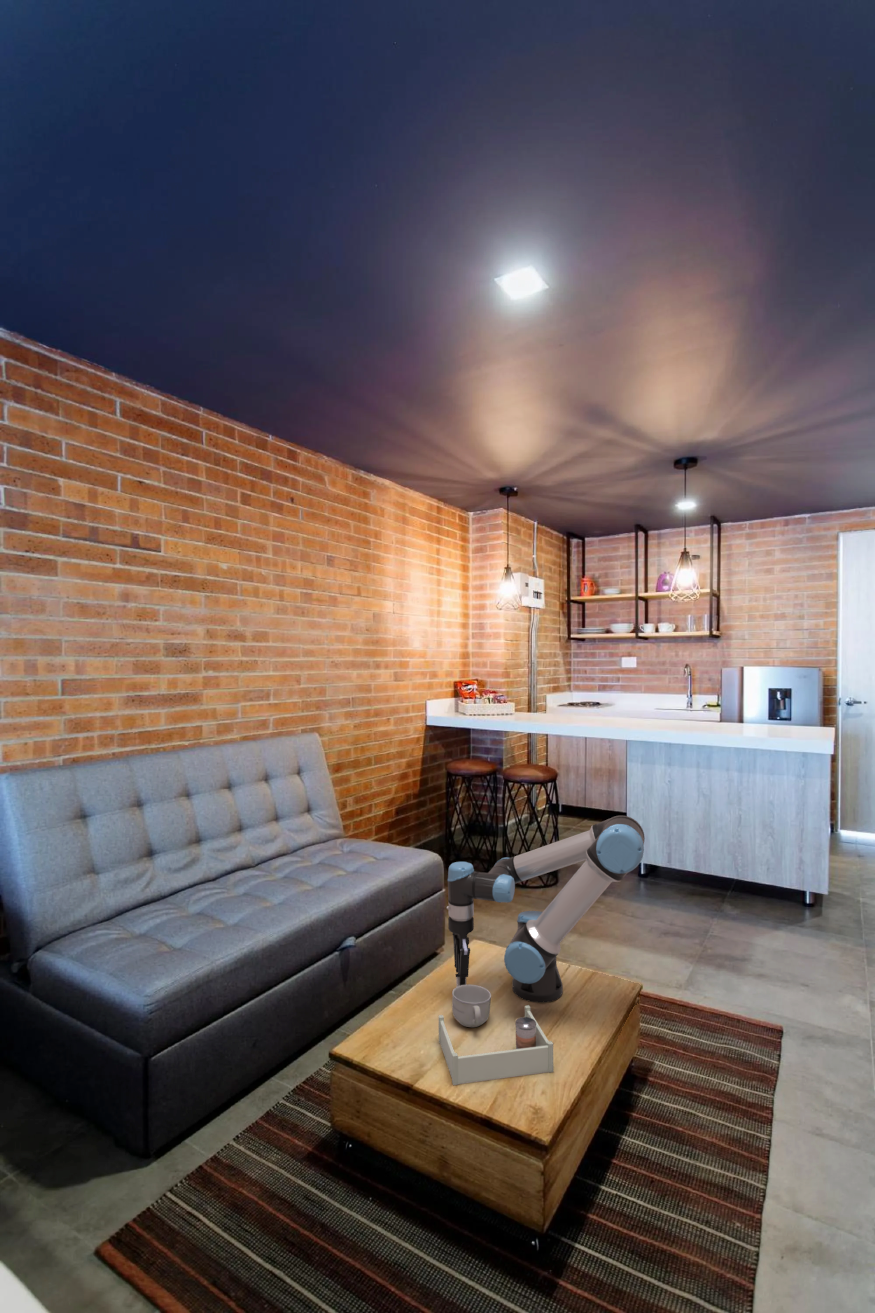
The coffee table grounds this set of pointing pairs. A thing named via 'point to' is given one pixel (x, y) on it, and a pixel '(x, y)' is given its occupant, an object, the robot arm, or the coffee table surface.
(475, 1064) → the crate
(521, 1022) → the tin can
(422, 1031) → the coffee table surface
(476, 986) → the teacup
